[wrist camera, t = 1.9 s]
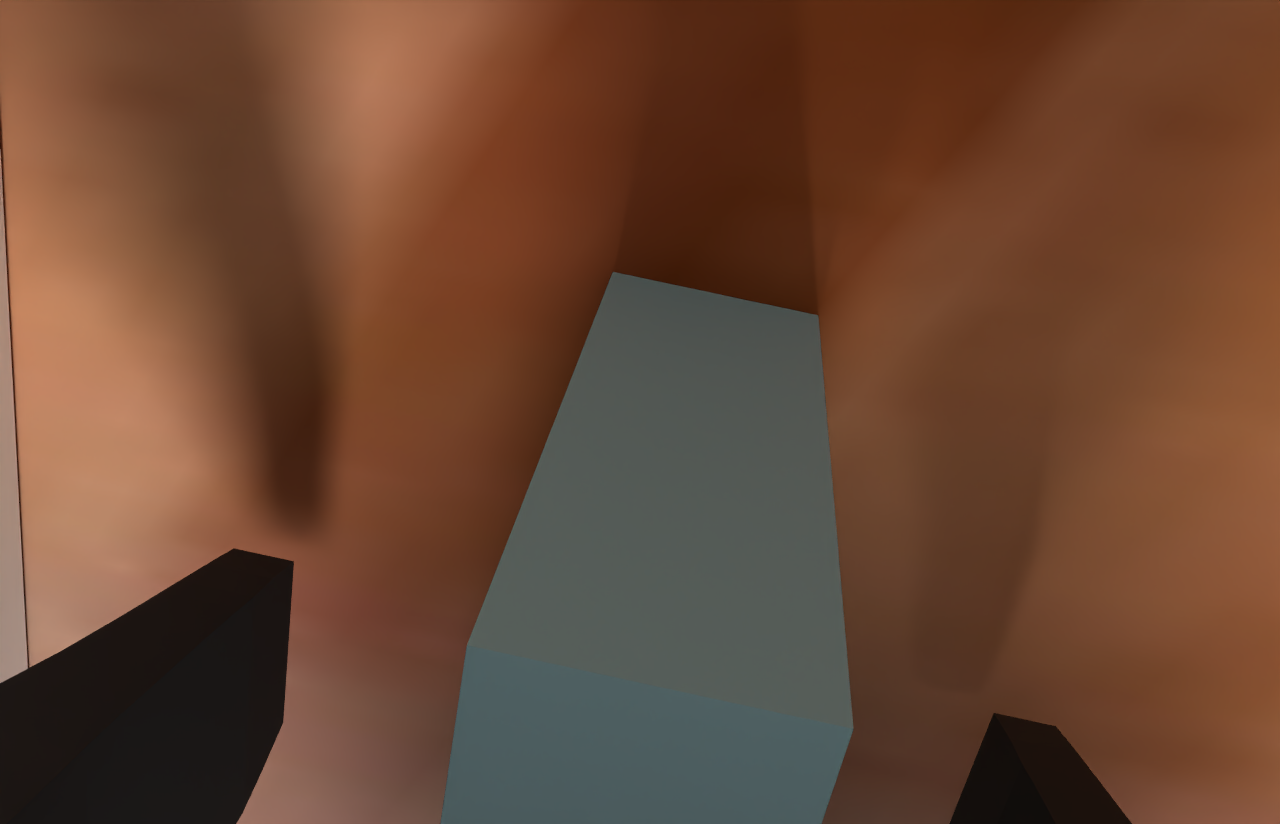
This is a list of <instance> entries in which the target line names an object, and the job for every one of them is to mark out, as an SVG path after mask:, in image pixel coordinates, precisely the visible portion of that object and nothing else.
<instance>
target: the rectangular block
mask: <svg viewBox="0 0 1280 824" xmlns="http://www.w3.org/2000/svg"><path fill="white" fill-rule="evenodd" d="M852 732H853V717H852V705H851V693H850V682H849V670H848V658H847V646H846V635H845V623H844V611H843V599H842V588H841V576H840V564H839V552H838V541H837V529H836V517H835V505H834V494H833V482H832V470H831V458H830V447H829V435H828V423H827V411H826V400H825V388H824V376H823V365H822V353H821V341H820V329H819V318H818V315H815V314H810V313H805V312H800V311H796V310H791V309H786V308H781V307H777V306H772V305H767V304H763V303H758V302H753V301H748V300H744V299H739V298H734V297H730V296H725V295H720V294H715V293H711V292H706V291H701V290H696V289H692V288H687V287H682V286H678V285H673V284H668V283H663V282H659V281H654V280H649V279H645V278H640V277H635V276H630V275H626V274H621V273H616V272H613V273H612V275H611V278H610V280H609V283H608V285H607V288H606V291H605V293H604V296H603V298H602V301H601V303H600V306H599V309H598V311H597V314H596V316H595V319H594V321H593V324H592V326H591V329H590V332H589V334H588V337H587V339H586V342H585V344H584V347H583V349H582V352H581V355H580V357H579V360H578V362H577V365H576V367H575V370H574V372H573V375H572V378H571V380H570V383H569V385H568V388H567V390H566V393H565V395H564V398H563V401H562V403H561V406H560V408H559V411H558V413H557V416H556V419H555V421H554V424H553V426H552V429H551V431H550V434H549V436H548V439H547V442H546V444H545V447H544V449H543V452H542V454H541V457H540V459H539V462H538V465H537V467H536V470H535V472H534V475H533V477H532V480H531V482H530V485H529V488H528V490H527V493H526V495H525V498H524V500H523V503H522V506H521V508H520V511H519V513H518V516H517V518H516V521H515V523H514V526H513V529H512V531H511V534H510V536H509V539H508V541H507V544H506V546H505V549H504V552H503V554H502V557H501V559H500V562H499V564H498V567H497V569H496V572H495V575H494V577H493V580H492V582H491V585H490V587H489V590H488V592H487V595H486V598H485V600H484V603H483V605H482V608H481V610H480V613H479V616H478V618H477V621H476V623H475V626H474V628H473V631H472V633H471V636H470V639H469V641H468V644H467V648H466V655H465V661H464V668H463V675H462V682H461V688H460V695H459V702H458V709H457V715H456V722H455V729H454V735H453V742H452V749H451V756H450V762H449V769H448V776H447V783H446V789H445V796H444V803H443V810H442V816H441V823H440V824H822V821H823V818H824V815H825V812H826V809H827V806H828V803H829V800H830V797H831V794H832V791H833V788H834V785H835V782H836V779H837V776H838V773H839V770H840V767H841V765H842V762H843V759H844V756H845V753H846V750H847V747H848V744H849V741H850V738H851V735H852Z"/></svg>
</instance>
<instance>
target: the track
mask: <svg viewBox="0 0 1280 824" xmlns="http://www.w3.org/2000/svg"><path fill="white" fill-rule="evenodd" d="M26 669H28V663H27V644H26V625H25V606H24V587H23V568H22V549H21V531H20V512H19V493H18V474H17V455H16V436H15V417H14V398H13V379H12V360H11V341H10V322H9V303H8V284H7V265H6V246H5V227H4V208H3V189H2V170H1V151H0V683H1V682H3V681H5V680H7V679H9V678H11V677H13V676H15V675H17V674H19V673H21V672H22V671H24V670H26Z"/></svg>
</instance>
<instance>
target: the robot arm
mask: <svg viewBox="0 0 1280 824" xmlns="http://www.w3.org/2000/svg"><path fill="white" fill-rule="evenodd" d="M293 566H294V561H289V560H285V559H280V558H275V557H271V556H266V555H261V554H257V553H252V552H248V551H243V550H238V549H232V550H231V551H229V552H227V553H225V554H224V555H222V556H220V557H218V558H217V559H215V560H213V561H212V562H210V563H208V564H207V565H205V566H203V567H202V568H200V569H198V570H197V571H195V572H193V573H192V574H190V575H188V576H187V577H185V578H183V579H182V580H180V581H178V582H177V583H175V584H174V585H172V586H170V587H169V588H167V589H165V590H164V591H162V592H160V593H159V594H157V595H156V596H154V597H152V598H151V599H149V600H147V601H146V602H144V603H142V604H141V605H139V606H137V607H136V608H134V609H132V610H131V611H129V612H127V613H126V614H124V615H122V616H121V617H119V618H117V619H116V620H114V621H112V622H110V623H109V624H107V625H105V626H104V627H102V628H100V629H98V630H97V631H95V632H93V633H92V634H90V635H88V636H86V637H85V638H83V639H81V640H79V641H78V642H76V643H74V644H73V645H71V646H69V647H67V648H66V649H64V650H62V651H61V652H59V653H57V654H55V655H53V656H51V657H49V658H47V659H45V660H43V661H41V662H40V663H38V664H36V665H34V666H32V667H30V668H28V669H26V670H24V671H22V672H21V673H19V674H17V675H15V676H13V677H11V678H9V679H7V680H5V681H3V682H1V683H0V824H236V823H237V821H238V820H239V818H240V816H241V815H242V813H243V811H244V809H245V806H246V804H247V802H248V800H249V798H250V796H251V793H252V791H253V789H254V787H255V785H256V783H257V781H258V778H259V776H260V774H261V772H262V770H263V767H264V765H265V763H266V760H267V758H268V756H269V753H270V751H271V749H272V747H273V744H274V742H275V740H276V737H277V735H278V733H279V731H280V728H281V726H282V724H283V716H284V701H285V686H286V671H287V656H288V641H289V626H290V611H291V596H292V581H293ZM950 824H1132V823H1131V822H1130V821H1129V819H1128V818H1127V817H1126V815H1125V814H1124V813H1123V812H1122V810H1121V809H1120V808H1119V806H1118V805H1117V804H1116V802H1115V801H1114V800H1113V799H1112V797H1111V796H1110V795H1109V793H1108V792H1107V791H1106V789H1105V788H1104V787H1103V786H1102V784H1101V783H1100V782H1099V780H1098V779H1097V778H1096V776H1095V775H1094V774H1093V773H1092V771H1091V770H1090V769H1089V767H1088V766H1087V765H1086V763H1085V762H1084V761H1083V760H1082V758H1081V757H1080V756H1079V754H1078V753H1077V752H1076V751H1075V749H1074V748H1073V747H1072V746H1071V744H1070V743H1069V742H1068V741H1067V739H1066V738H1065V737H1064V736H1063V735H1062V733H1061V732H1060V731H1059V730H1058V729H1057V727H1056V726H1051V725H1047V724H1042V723H1037V722H1033V721H1028V720H1024V719H1019V718H1014V717H1010V716H1005V715H1001V714H996V713H994V714H993V717H992V719H991V722H990V724H989V727H988V729H987V732H986V734H985V736H984V739H983V741H982V744H981V746H980V749H979V751H978V754H977V756H976V759H975V761H974V764H973V766H972V769H971V771H970V774H969V776H968V779H967V781H966V784H965V786H964V789H963V791H962V794H961V796H960V799H959V801H958V804H957V806H956V809H955V811H954V814H953V816H952V819H951V821H950Z"/></svg>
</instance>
